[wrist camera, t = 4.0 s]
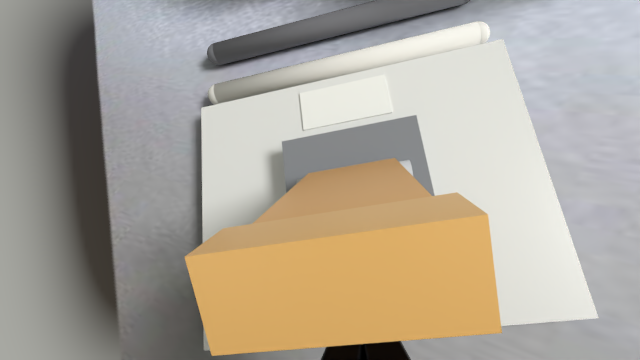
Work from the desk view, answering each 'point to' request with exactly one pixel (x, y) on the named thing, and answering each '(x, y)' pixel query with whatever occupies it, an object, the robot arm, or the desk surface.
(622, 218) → the desk surface
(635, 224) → the desk surface
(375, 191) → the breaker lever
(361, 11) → the rods
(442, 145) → the breaker panel
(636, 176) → the desk surface
